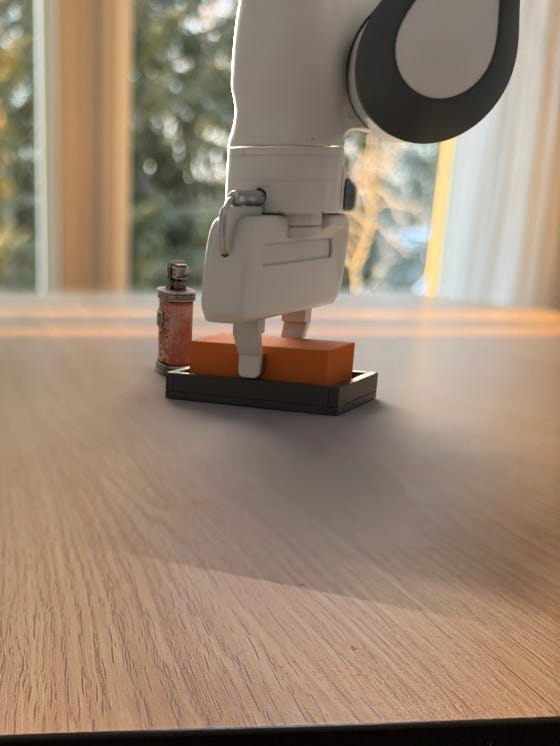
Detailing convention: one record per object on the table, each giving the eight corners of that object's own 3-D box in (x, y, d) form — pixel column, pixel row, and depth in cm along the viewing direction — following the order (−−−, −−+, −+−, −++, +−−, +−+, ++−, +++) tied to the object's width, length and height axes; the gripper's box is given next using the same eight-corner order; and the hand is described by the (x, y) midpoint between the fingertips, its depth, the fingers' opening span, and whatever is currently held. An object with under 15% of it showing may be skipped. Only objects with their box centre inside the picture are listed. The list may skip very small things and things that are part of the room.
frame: (375, 397, 88) (378, 372, 87) (336, 415, 81) (339, 388, 80) (213, 382, 96) (214, 358, 95) (164, 397, 89) (165, 372, 88)
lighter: (151, 364, 106) (153, 258, 102) (184, 363, 106) (187, 258, 102) (162, 377, 99) (165, 263, 95) (198, 376, 99) (202, 263, 95)
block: (350, 391, 87) (355, 342, 86) (324, 403, 83) (328, 350, 81) (219, 379, 94) (222, 333, 92) (188, 389, 89) (190, 340, 87)
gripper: (265, 189, 73) (252, 392, 78) (365, 189, 88) (349, 358, 94) (184, 189, 76) (177, 384, 81) (294, 189, 91) (283, 353, 97)
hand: (270, 370), depth 88 cm, fingers closed on block, 6 cm apart
